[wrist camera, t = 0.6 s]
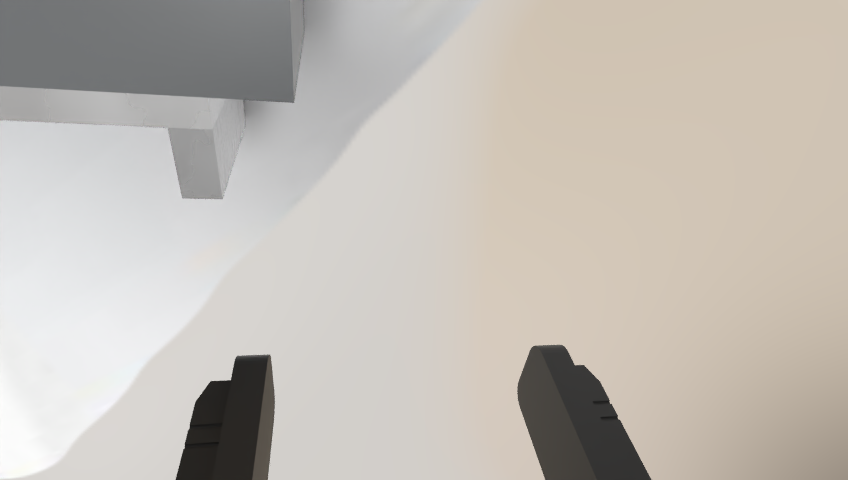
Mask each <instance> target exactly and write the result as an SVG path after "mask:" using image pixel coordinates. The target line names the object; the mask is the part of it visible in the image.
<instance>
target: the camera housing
mask: <svg viewBox="0 0 848 480" xmlns="http://www.w3.org/2000/svg"><path fill="white" fill-rule="evenodd" d="M303 37H304V0H0V86H8V87H26V88H44V89H61V90H79V91H97V92H114V93H132V94H150V95H168V96H185V97H203V98H221V99H239V100H256V101H274V102H292V103H294V99H295V92H296V85H297V78H298V71H299V65H300V58H301V51H302V44H303Z"/></svg>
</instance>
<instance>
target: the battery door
mask: <svg viewBox="0 0 848 480" xmlns="http://www.w3.org/2000/svg"><path fill="white" fill-rule="evenodd" d="M0 120H10V121H33V122H55V123H77V124H100V125H122V126H145V127H167V128H168V131H169V135H170V140H171V145H172V150H173V155H174V160H175V165H176V170H177V175H178V180H179V184H180V189H181V194H182V198H193V199H223V196H224V193H225V190H226V187H227V183H228V180H229V177H230V174H231V171H232V167H233V164H234V161H235V158H236V155H237V152H238V148H239V145H240V142H241V139H242V136H243V133H244V129H245V126H246V124H245V114H244V104H243V100H239V99H221V98H203V97H185V96H168V95H150V94H132V93H114V92H97V91H79V90H61V89H44V88H26V87H8V86H0Z"/></svg>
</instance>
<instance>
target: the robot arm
mask: <svg viewBox="0 0 848 480" xmlns="http://www.w3.org/2000/svg"><path fill="white" fill-rule="evenodd" d="M274 397H275V396H274V385H273V375H272V364H271V356H270V355H248V356H237V357H236V359H235V363H234V368H233V373H232V378H231V380H228V381H211V382H210V383H209V384H208V386H207V387H206V389H205V390H204V391H203V393H202V394H201V395H200V397H199V398H198V399H197V401H196V403H195V407H194V410H193V414H192V418H191V422H190V429H189V430H188V434H187V438H186V442H185V449H184V450H183V454H182V457H181V461H180V466H179V469H178V473H177V477H176V480H268V471H269V461H270V451H271V442H272V433H273V423H274V408H275V405H274V404H275V398H274ZM518 401H519V405H520V409H521V411H522V414H523V417H524V420H525V423H526V426H527V428H528V431H529V434H530V437H531V440H532V443H533V446H534V448H535V451H536V454H537V457H538V460H539V463H540V465H541V468H542V471H543V474H544V477H545V480H651V478H650V476H649V475H648V473H647V471H646V469H645V467H644V465H643V463H642V461H641V460H640V457H639V456H638V454H637V452H636V450H635V448H634V446H633V444H632V442H631V440H630V439H629V437H628V435H627V433H626V431H625V429H624V427H623V425H622V423H621V421H620V420H618V418H617V417H618V415H617V414H616V412H615V410H614V408H613V406H612V404H610V403H609V398H608V396H607V395H606V393H605V391H604V389H603V387H602V385H601V383H600V381H599V380H598V379H597V378H596V377H595V376H594V375H593V374H592V373H591V372H590V371H589V370H588V369H587V368H586V367H585V366H584V365H576V366H575V365H574V363H573V361H572V359H571V357H570V355H569V353H568V351H567V349H566V348H565V347H564V346H563V345H543V346H533V347H532V348H531V350H530V352H529V355H528V358H527V360H526V363H525V366H524V369H523V371H522V374H521V377H520V379H519V383H518Z"/></svg>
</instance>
